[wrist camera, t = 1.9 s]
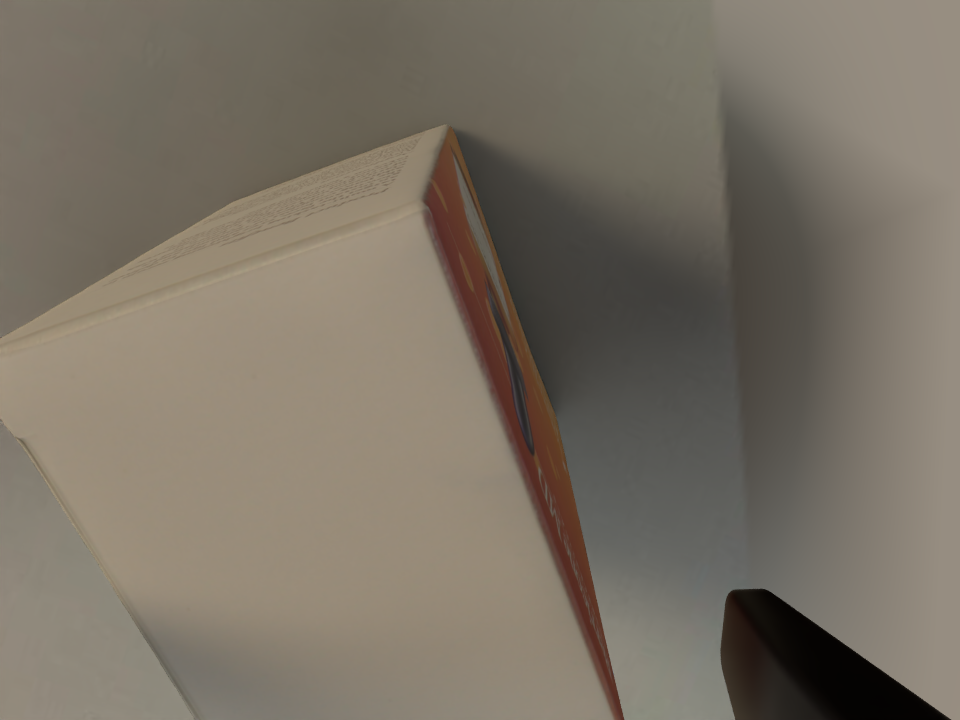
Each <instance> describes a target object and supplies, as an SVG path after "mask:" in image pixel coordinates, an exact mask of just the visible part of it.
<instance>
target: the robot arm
mask: <svg viewBox="0 0 960 720" xmlns="http://www.w3.org/2000/svg"><path fill="white" fill-rule="evenodd" d="M721 664H722V670H723V674H724V678H725V682H726V686H727V690H728V693H729V697H730V701H731V705H732V709H733V712H734V716H735V720H951V719H949V718H948V717H946V716H945V715H944V714H942V713H941V712H939V711H938V710H937V709H935V708H934V707H932V706H931V705H929V704H928V703H927V702H925V701H924V700H923V699H921V698H920V697H918V696H917V695H915V694H914V693H913V692H911V691H910V690H908V689H907V688H905V687H904V686H903V685H901V684H900V683H899V682H897V681H896V680H894V679H893V678H891V677H890V676H889V675H887V674H886V673H884V672H883V671H882V670H880V669H879V668H877V667H876V666H874V665H873V664H871V663H870V662H869V661H867V660H866V659H864V658H863V657H862V656H860V655H859V654H858V653H856V652H855V651H853V650H852V649H851V648H849V647H848V646H846V645H845V644H843V643H842V642H841V641H839V640H838V639H836V638H835V637H833V636H832V635H831V634H829V633H828V632H826V631H825V630H823V629H822V628H821V627H819V626H818V625H817V624H815V623H814V622H812V621H811V620H810V619H808V618H807V617H805V616H804V615H802V614H801V613H800V612H798V611H797V610H795V609H794V608H793V607H791V606H790V605H788V604H787V603H786V602H784V601H783V600H781V599H780V598H778V597H777V596H775V595H774V594H773V593H771V592H769V591H768V590H765V589H738V590H732V591H731V592H730V593H729V594H728V596H727V599H726V603H725V612H724V621H723V631H722V640H721Z"/></svg>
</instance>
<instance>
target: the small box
mask: <svg viewBox="0 0 960 720" xmlns="http://www.w3.org/2000/svg"><path fill="white" fill-rule="evenodd" d="M0 419H1V420H2V422H3V423H4V425H5V426H6V427H7V429H8V430H9V431H10V432H11V433H12V434H13V435H14V437H15V438H16V439H17V441H18V442H19V443H20V445H21V446H22V448H23V449H24V450H25V452H26V453H27V455H28V456H29V458H30V459H31V461H32V462H33V464H34V465H35V467H36V468H37V469H38V471H39V472H40V474H41V476H42V477H43V479H44V480H45V482H46V483H47V485H48V486H49V488H50V490H51V491H52V493H53V494H54V496H55V497H56V499H57V500H58V502H59V504H60V505H61V507H62V508H63V510H64V512H65V513H66V515H67V516H68V518H69V519H70V521H71V523H72V524H73V526H74V527H75V529H76V530H77V532H78V534H79V535H80V537H81V538H82V540H83V541H84V543H85V545H86V546H87V547H88V549H89V550H90V552H91V553H92V555H93V556H94V558H95V560H96V561H97V563H98V565H99V566H100V568H101V570H102V571H103V573H104V574H105V576H106V577H107V579H108V580H109V581H110V583H111V585H112V586H113V588H114V590H115V592H116V594H117V596H118V597H119V599H120V600H121V602H122V603H123V605H124V606H125V608H126V609H127V611H128V613H129V614H130V616H131V617H132V619H133V621H134V622H135V624H136V626H137V627H138V629H139V630H140V632H141V633H142V635H143V637H144V638H145V640H146V641H147V643H148V644H149V646H150V647H151V649H152V650H153V652H154V653H155V655H156V657H157V658H158V660H159V662H160V664H161V665H162V667H163V669H164V670H165V672H166V674H167V675H168V677H169V678H170V680H171V681H172V683H173V685H174V686H175V688H176V689H177V691H178V692H179V694H180V696H181V697H182V699H183V701H184V702H185V704H186V706H187V708H188V709H189V711H190V713H191V714H192V716H193V717H194V719H195V720H624V717H623V713H622V709H621V704H620V700H619V696H618V692H617V687H616V683H615V679H614V675H613V671H612V666H611V662H610V658H609V653H608V649H607V645H606V640H605V636H604V631H603V627H602V622H601V618H600V613H599V608H598V604H597V599H596V595H595V590H594V585H593V581H592V576H591V572H590V567H589V562H588V558H587V553H586V548H585V544H584V539H583V535H582V530H581V526H580V521H579V517H578V513H577V508H576V503H575V499H574V494H573V490H572V485H571V481H570V476H569V472H568V468H567V463H566V458H565V453H564V449H563V445H562V441H561V436H560V432H559V427H558V423H557V419H556V416H555V413H554V410H553V408H552V405H551V403H550V400H549V397H548V395H547V392H546V390H545V387H544V385H543V382H542V380H541V377H540V375H539V372H538V370H537V367H536V364H535V362H534V359H533V356H532V354H531V351H530V348H529V346H528V343H527V340H526V337H525V335H524V332H523V329H522V326H521V323H520V320H519V318H518V315H517V312H516V309H515V306H514V303H513V300H512V297H511V294H510V291H509V288H508V285H507V283H506V280H505V277H504V274H503V271H502V268H501V265H500V262H499V259H498V256H497V253H496V250H495V247H494V244H493V241H492V239H491V236H490V233H489V230H488V227H487V224H486V221H485V218H484V215H483V213H482V210H481V207H480V204H479V201H478V198H477V195H476V192H475V189H474V187H473V184H472V181H471V178H470V175H469V172H468V169H467V167H466V164H465V161H464V158H463V155H462V152H461V149H460V146H459V144H458V141H457V138H456V135H455V133H454V131H453V129H452V128H451V127H450V126H449V125H446V124H445V125H442V126H439V127H436V128H433V129H429V130H427V131H424V132H421V133H418V134H415V135H412V136H410V137H407V138H404V139H401V140H398V141H396V142H393V143H390V144H387V145H384V146H382V147H379V148H376V149H373V150H371V151H368V152H365V153H362V154H359V155H357V156H354V157H351V158H348V159H346V160H343V161H340V162H337V163H335V164H332V165H329V166H327V167H324V168H321V169H319V170H316V171H313V172H310V173H308V174H305V175H302V176H300V177H297V178H294V179H292V180H289V181H286V182H284V183H281V184H278V185H276V186H273V187H270V188H268V189H265V190H263V191H260V192H258V193H255V194H252V195H250V196H247V197H245V198H242V199H239V200H236V201H234V202H232V203H230V204H228V205H227V206H225V207H224V208H222V209H220V210H218V211H216V212H215V213H213V214H211V215H210V216H208V217H206V218H205V219H203V220H201V221H199V222H198V223H196V224H194V225H193V226H191V227H189V228H188V229H186V230H184V231H183V232H181V233H179V234H177V235H175V236H173V237H172V238H170V239H169V240H167V241H165V242H163V243H161V244H160V245H158V246H156V247H155V248H153V249H151V250H150V251H148V252H146V253H144V254H143V255H141V256H139V257H138V258H136V259H134V260H133V261H131V262H130V263H128V264H126V265H125V266H123V267H122V268H120V269H118V270H116V271H114V272H113V273H111V274H110V275H108V276H106V277H105V278H103V279H101V280H100V281H98V282H96V283H95V284H93V285H91V286H89V287H88V288H86V289H85V290H83V291H82V292H80V293H78V294H76V295H75V296H73V297H71V298H69V299H68V300H66V301H64V302H63V303H61V304H59V305H57V306H55V307H54V308H52V309H51V310H49V311H47V312H46V313H44V314H42V315H41V316H39V317H37V318H36V319H34V320H32V321H30V322H29V323H27V324H25V325H23V326H22V327H20V328H18V329H16V330H14V331H13V332H11V333H9V334H7V335H5V336H3V337H2V338H0Z"/></svg>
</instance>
